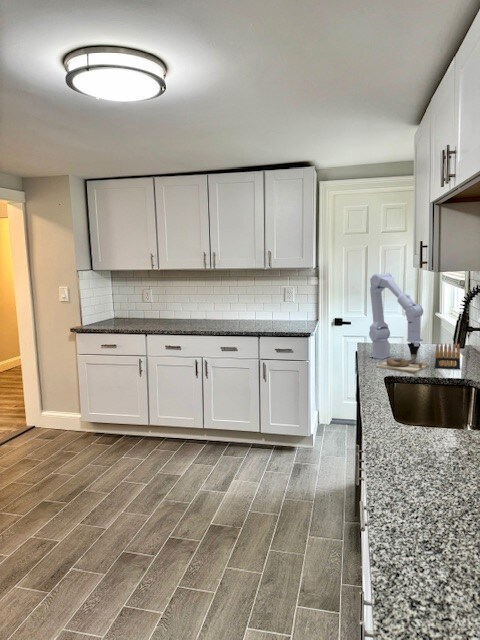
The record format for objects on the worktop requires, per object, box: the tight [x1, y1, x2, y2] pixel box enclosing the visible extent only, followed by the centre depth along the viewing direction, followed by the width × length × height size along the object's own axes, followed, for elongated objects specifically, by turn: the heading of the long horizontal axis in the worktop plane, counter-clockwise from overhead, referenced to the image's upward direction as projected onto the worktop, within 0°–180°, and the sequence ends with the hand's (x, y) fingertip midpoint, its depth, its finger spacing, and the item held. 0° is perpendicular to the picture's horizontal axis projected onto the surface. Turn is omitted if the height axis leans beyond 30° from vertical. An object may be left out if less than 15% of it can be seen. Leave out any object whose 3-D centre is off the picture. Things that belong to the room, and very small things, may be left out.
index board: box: [375, 360, 430, 374], centre depth 213 cm, size 16×19×3 cm
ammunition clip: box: [434, 342, 461, 370], centre depth 206 cm, size 11×2×12 cm, turn 71°
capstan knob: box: [386, 354, 417, 367], centre depth 213 cm, size 14×10×4 cm
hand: (413, 357), depth 215 cm, fingers closed, pressing on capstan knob
